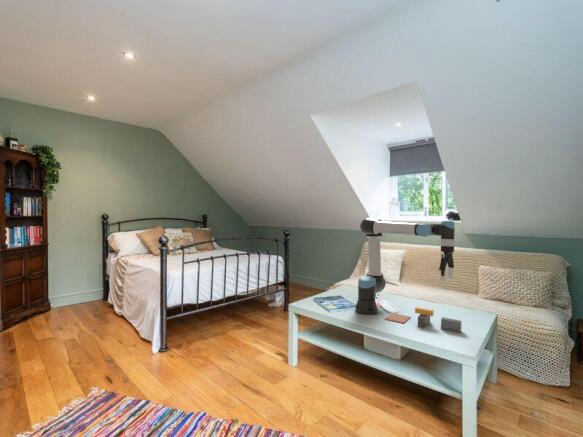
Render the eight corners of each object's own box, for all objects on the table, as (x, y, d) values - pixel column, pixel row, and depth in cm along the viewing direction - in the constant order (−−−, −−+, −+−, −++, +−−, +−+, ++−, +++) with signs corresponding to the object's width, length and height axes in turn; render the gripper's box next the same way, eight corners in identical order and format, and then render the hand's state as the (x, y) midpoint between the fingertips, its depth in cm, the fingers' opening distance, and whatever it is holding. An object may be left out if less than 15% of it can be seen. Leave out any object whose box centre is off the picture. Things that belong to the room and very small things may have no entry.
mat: (384, 319, 196) (384, 318, 196) (392, 313, 207) (392, 312, 207) (403, 323, 188) (403, 322, 188) (410, 317, 199) (410, 316, 199)
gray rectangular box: (441, 329, 180) (441, 318, 180) (442, 327, 183) (442, 317, 183) (460, 333, 174) (460, 322, 174) (461, 331, 177) (461, 320, 177)
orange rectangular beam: (414, 312, 190) (415, 308, 190) (416, 311, 192) (416, 306, 192) (432, 316, 183) (432, 311, 183) (433, 315, 186) (433, 310, 186)
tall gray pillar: (417, 326, 184) (417, 316, 184) (423, 321, 194) (423, 311, 194) (424, 328, 182) (424, 318, 182) (430, 322, 191) (430, 313, 191)
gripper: (447, 247, 180) (446, 283, 180) (459, 244, 198) (459, 277, 198) (434, 246, 185) (433, 281, 186) (447, 243, 203) (446, 275, 204)
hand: (446, 279), depth 192 cm, fingers open, 13 cm apart
